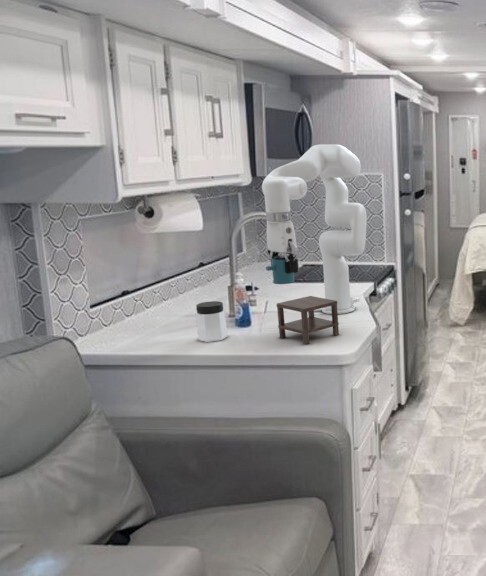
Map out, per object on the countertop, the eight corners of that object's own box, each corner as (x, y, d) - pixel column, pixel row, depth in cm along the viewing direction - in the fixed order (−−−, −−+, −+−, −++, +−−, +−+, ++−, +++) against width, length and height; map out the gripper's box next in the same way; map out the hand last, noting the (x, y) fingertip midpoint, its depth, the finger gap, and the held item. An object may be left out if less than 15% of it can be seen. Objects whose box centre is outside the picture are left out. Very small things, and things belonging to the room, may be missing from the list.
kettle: (291, 278, 226) (289, 253, 225) (304, 280, 223) (302, 255, 221) (262, 284, 218) (260, 258, 216) (274, 286, 214) (272, 260, 212)
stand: (312, 328, 237) (310, 295, 234) (339, 334, 229) (337, 300, 226) (279, 337, 225) (276, 303, 223) (306, 344, 218) (303, 309, 215)
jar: (207, 334, 229) (203, 300, 227) (230, 334, 229) (227, 300, 227) (194, 342, 221) (190, 307, 218) (219, 342, 221) (215, 307, 218)
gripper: (305, 218, 214) (309, 272, 218) (272, 214, 223) (277, 266, 227) (285, 220, 208) (289, 276, 212) (252, 216, 217) (257, 270, 221)
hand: (283, 271), depth 219 cm, fingers closed on kettle, 6 cm apart
